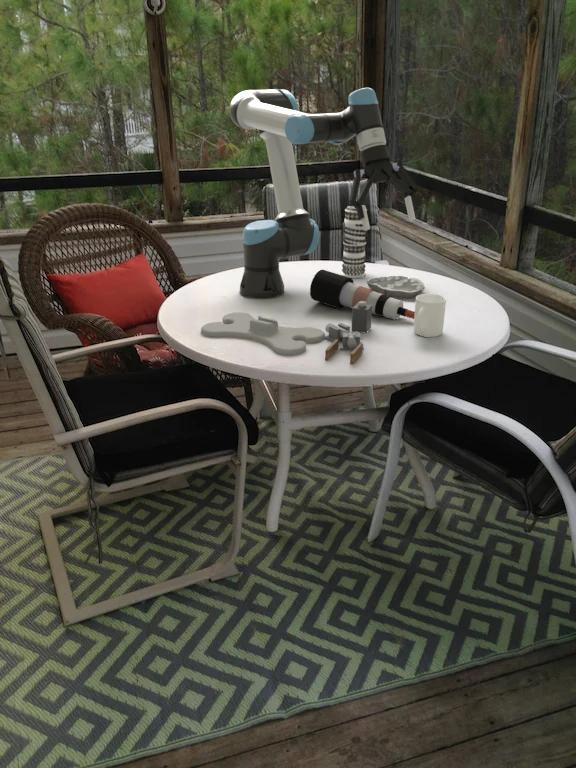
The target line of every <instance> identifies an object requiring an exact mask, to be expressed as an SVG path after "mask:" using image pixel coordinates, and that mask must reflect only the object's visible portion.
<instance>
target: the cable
mask: <svg viewBox="0 0 576 768" xmlns="http://www.w3.org/2000/svg"><path fill="white" fill-rule="evenodd" d="M354 282H355V281H354V279H353V278H349V277H346V276H343V275H342V274H338V273H335V272H333V271H332V272H331V271H328V270H325V269H320V270H318V271H317V272H316V273H315V274H314V276H313V278H312V280H311V283H310V288H309V295H310V298H311V300H313V301H315V302H318V303H322V304H324V305H327V306H330V307H333V308H336V309H339V310H342V308H343V309H344V308H351V309H352V308H353V307H354V306H355V305H356V304H357V303H358V302H360V301H365V302H367V305H372V314H374V315H376V316H381V317H384V318H387V319H391V320H393V319H394V321H396V320H398V319H399V318H400V317H405V318H409V319H412V320H414V316H415V310H411V309H410V310H409V309H408V308H405V307H404V302H403V300H401V299H398V298H395V297H389V296H386V295H384V294H381V293H377V292H375V291H374V290H371V288H369V287H368V288H367V287H364V286H361V285H359V284H355V283H354ZM397 318H398V319H397ZM395 319H396V320H395Z"/></svg>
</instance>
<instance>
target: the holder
mask: <svg viewBox="0 0 576 768" xmlns="http://www.w3.org/2000/svg"><path fill="white" fill-rule="evenodd" d="M257 317H258V319H256V318H255V317H254V316H252V315H251V314H249V313H247V312H242V311H241V312H239V311H238V312H237V311H236V312H230V313H227V314H225V315H224V316H223V317H222V321H213V322H212V321H211V322H207V323H205V324H203V325H202V327H201V328H200V331H201V334H202V336H204V337H205V336H206V337H208V338H209V337H210V338H238V339H247V340H252V341H256V342H258V343H262V344H264V345H265V346H267V347H269V348H270V349H271V350H272V351H273V352H274V353H276V354H278V355H283V356H296V355H300V354H303V353H305V352H306V350H307V344H317V343H320V342H322V341H324V340H325V336H326V335H325V332H324V331H323V330H322V329H320V328H318V327H308V326H307V327H292V326H291V327H290V326H289V327H288V326H280V325H279V321H278V320H276V319H274V318H270V317H265V316H261V315H258V316H257Z"/></svg>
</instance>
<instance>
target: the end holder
mask: <svg viewBox="0 0 576 768" xmlns="http://www.w3.org/2000/svg"><path fill="white" fill-rule="evenodd" d="M363 348H364V343H363V342H362V343H360V344H359V345H358V346H357V347H356V348H355V349H354V350H352V351H351V353H350V356H349V358H350V359H349V360H350V361H349V365H354V364H355V363H356V362H357V361H358V359H359V358H360V357H361V356H362V355H363V353H364V352H363V351H364V350H363ZM338 350H339V340H337V339H336V340H335V341H334V342H331V343H330V345H329V346H328V347H326V349H325V352H324V353H325V354H324V355H325V356H324V357H325V359H324V360H325V361H329V360H330V359H331V358H332V357H333V356H334V355H335V354H336V353H337V352H338Z"/></svg>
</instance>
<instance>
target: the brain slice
mask: <svg viewBox="0 0 576 768" xmlns="http://www.w3.org/2000/svg"><path fill="white" fill-rule="evenodd" d="M366 284H367V287H368V289H371V290H374V291H375V292H377V293H381V294H384V295H386V296H389V297H392V298H396V297H397V298H396V299H403V298H405V299H404V300H406V299H407V300H409V299H412V298H413V297H417V296H418V295H421V293H422V291H423V290H425V289H426V287H425V284H424V282H422V280H421V279H418V278H414V277H411V278H410V277H409V278H408V277H407V276H403V275H390V276H382V277H375V278H371V279H369V280H367V282H366ZM411 297H412V298H411Z"/></svg>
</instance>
